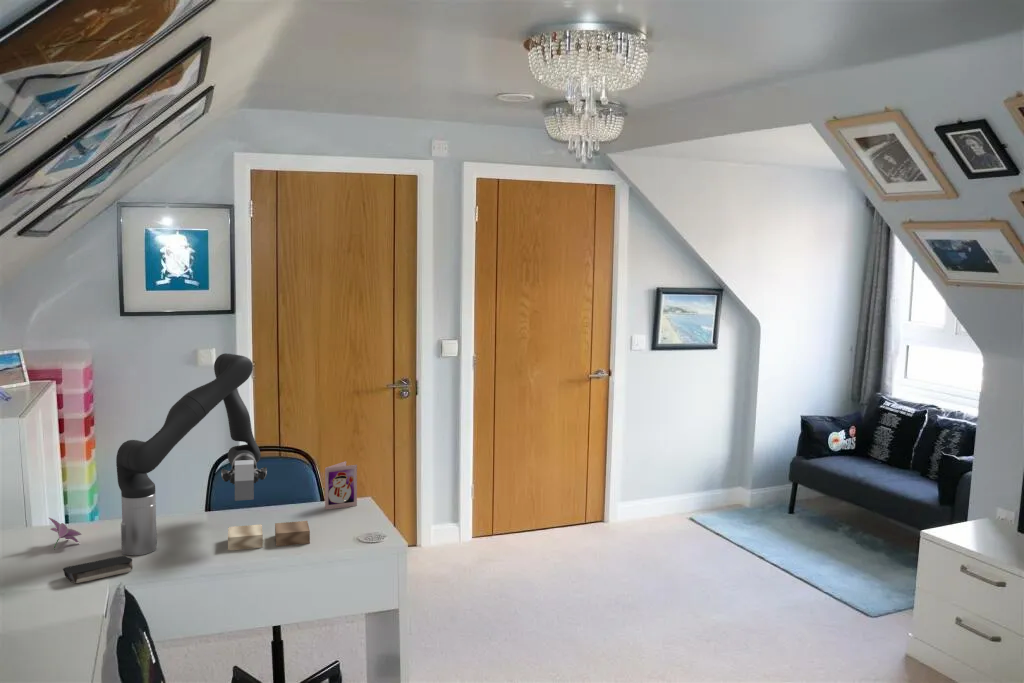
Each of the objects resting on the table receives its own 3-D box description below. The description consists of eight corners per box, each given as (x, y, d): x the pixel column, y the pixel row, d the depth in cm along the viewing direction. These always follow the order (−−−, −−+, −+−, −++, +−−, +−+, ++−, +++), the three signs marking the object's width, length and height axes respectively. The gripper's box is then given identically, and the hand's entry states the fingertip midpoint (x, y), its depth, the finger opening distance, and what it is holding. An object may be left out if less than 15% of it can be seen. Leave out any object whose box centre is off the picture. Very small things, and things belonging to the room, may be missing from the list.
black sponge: (70, 588, 213) (69, 574, 213) (62, 578, 220) (62, 565, 219) (135, 573, 224) (135, 561, 224) (126, 564, 230) (126, 552, 230)
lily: (82, 553, 240) (91, 523, 244) (43, 546, 234) (53, 516, 237) (71, 555, 248) (80, 526, 251) (33, 548, 241) (43, 518, 245)
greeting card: (325, 510, 283) (325, 468, 281) (320, 504, 289) (320, 463, 288) (357, 506, 288) (357, 465, 287) (351, 500, 295) (351, 460, 293)
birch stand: (227, 550, 242) (227, 537, 242) (228, 539, 251) (228, 527, 251) (262, 547, 245) (262, 534, 245) (262, 536, 255) (261, 524, 254)
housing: (234, 500, 243) (234, 465, 242) (234, 495, 248) (234, 460, 247) (253, 499, 245) (253, 464, 244) (253, 494, 250) (253, 459, 249)
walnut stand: (276, 546, 246) (276, 533, 246) (275, 535, 256) (275, 523, 256) (309, 543, 250) (309, 530, 249) (307, 532, 259) (307, 520, 259)
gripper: (220, 456, 257) (219, 469, 241) (267, 454, 262) (269, 467, 246) (220, 479, 258) (219, 494, 242) (267, 476, 262) (269, 491, 246)
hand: (244, 480), depth 244 cm, fingers closed on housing, 5 cm apart
